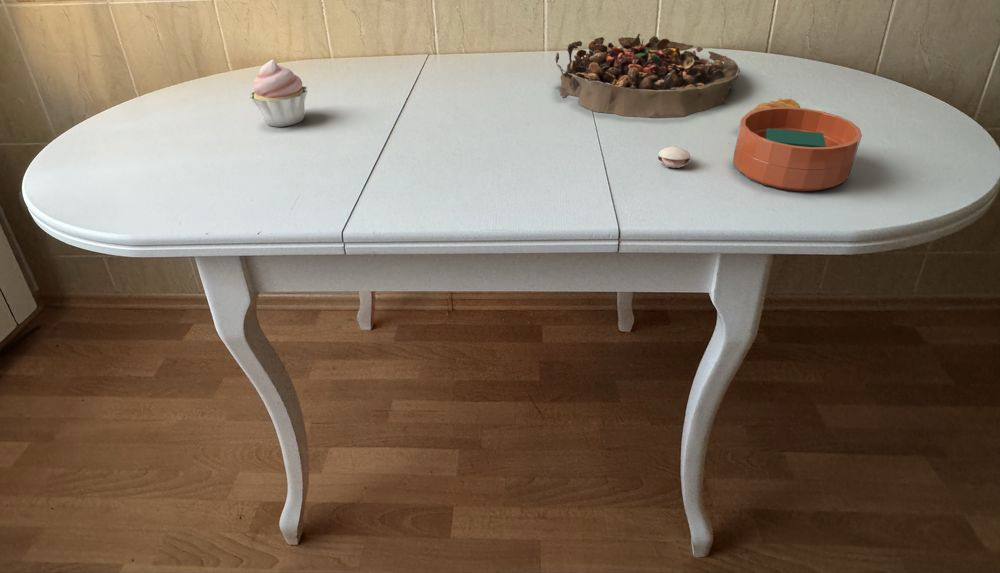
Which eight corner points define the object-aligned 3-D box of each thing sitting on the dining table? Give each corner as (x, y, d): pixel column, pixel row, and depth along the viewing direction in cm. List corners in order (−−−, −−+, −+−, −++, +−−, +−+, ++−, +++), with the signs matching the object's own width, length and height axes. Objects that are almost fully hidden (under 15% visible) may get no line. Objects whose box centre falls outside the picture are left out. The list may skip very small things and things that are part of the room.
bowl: (841, 153, 87) (854, 111, 84) (853, 199, 76) (868, 154, 73) (733, 143, 91) (741, 103, 88) (730, 186, 80) (739, 142, 77)
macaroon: (656, 169, 85) (658, 152, 84) (658, 154, 89) (660, 138, 88) (688, 172, 84) (691, 155, 83) (689, 157, 88) (692, 140, 86)
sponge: (815, 160, 84) (823, 132, 82) (817, 174, 81) (826, 146, 79) (760, 155, 86) (766, 128, 84) (760, 169, 83) (767, 140, 81)
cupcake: (321, 122, 103) (308, 61, 98) (264, 135, 100) (247, 72, 94) (305, 107, 110) (292, 48, 104) (251, 118, 106) (235, 58, 100)
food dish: (580, 56, 134) (582, 17, 129) (740, 71, 124) (749, 30, 119) (526, 104, 107) (527, 57, 102) (726, 128, 97) (737, 78, 92)
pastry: (762, 141, 92) (767, 116, 89) (727, 127, 97) (731, 103, 94) (805, 128, 95) (811, 103, 93) (770, 115, 100) (775, 91, 98)
